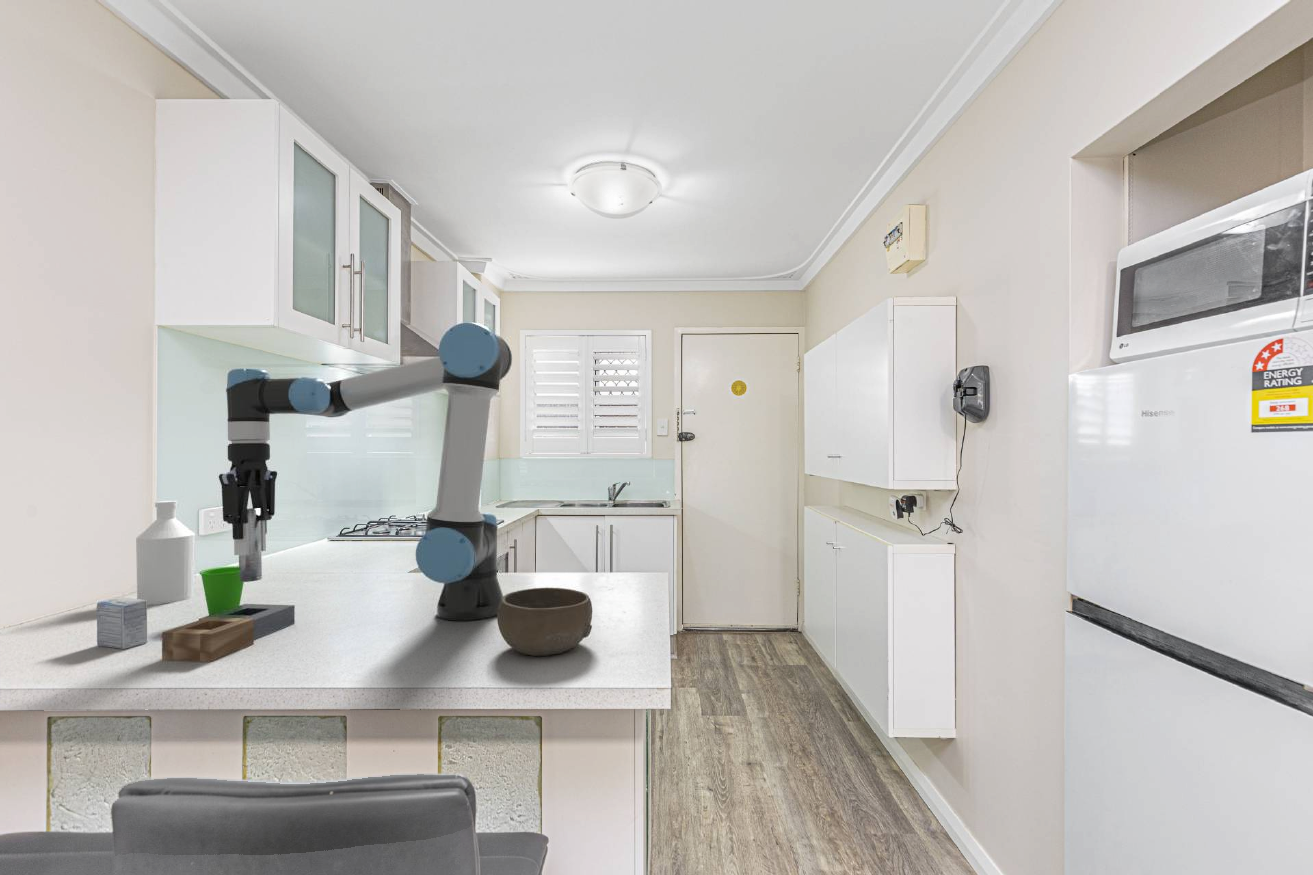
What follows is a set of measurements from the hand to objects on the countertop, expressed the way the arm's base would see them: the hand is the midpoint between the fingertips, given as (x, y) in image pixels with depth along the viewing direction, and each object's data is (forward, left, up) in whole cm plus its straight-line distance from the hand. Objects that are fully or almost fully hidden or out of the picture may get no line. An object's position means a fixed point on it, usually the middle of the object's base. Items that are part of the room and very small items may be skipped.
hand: (250, 552), depth 131 cm
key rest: (-3, +13, -17) cm, 21 cm away
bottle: (+43, -23, -17) cm, 52 cm away
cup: (+13, -8, -17) cm, 23 cm away
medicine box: (+18, +11, -17) cm, 27 cm away
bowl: (-66, +4, -17) cm, 68 cm away
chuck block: (0, 0, -17) cm, 17 cm away
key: (0, 0, -6) cm, 6 cm away
